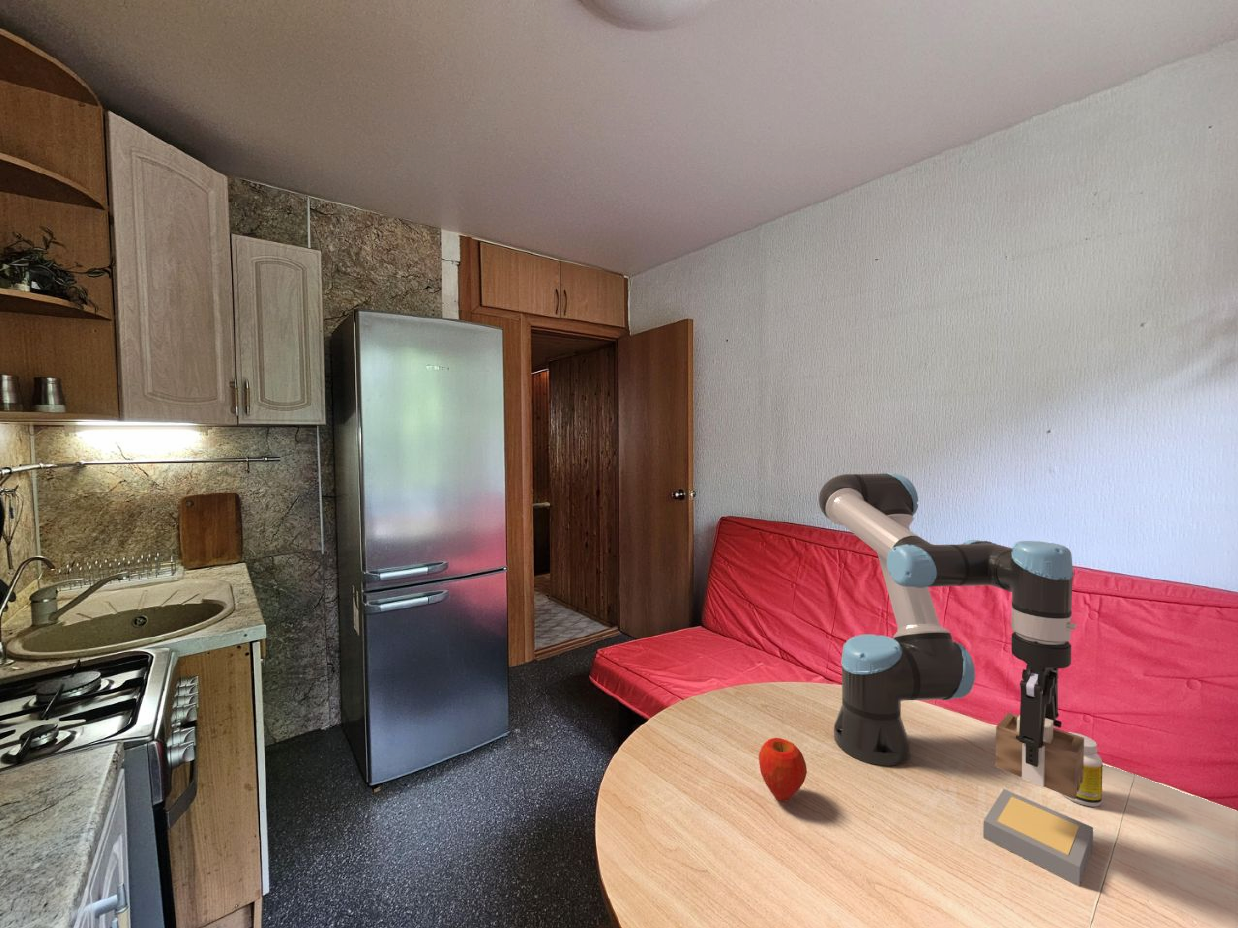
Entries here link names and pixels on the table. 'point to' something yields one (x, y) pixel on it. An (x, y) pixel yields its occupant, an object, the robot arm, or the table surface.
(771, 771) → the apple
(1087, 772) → the pill bottle
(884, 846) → the table surface
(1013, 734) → the stained wood crate
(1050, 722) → the block
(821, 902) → the table surface
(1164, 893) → the table surface
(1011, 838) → the dock
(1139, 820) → the table surface
